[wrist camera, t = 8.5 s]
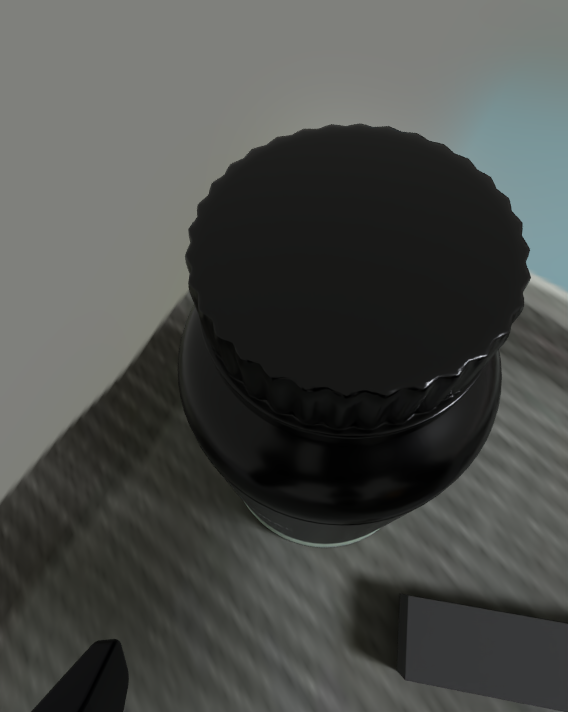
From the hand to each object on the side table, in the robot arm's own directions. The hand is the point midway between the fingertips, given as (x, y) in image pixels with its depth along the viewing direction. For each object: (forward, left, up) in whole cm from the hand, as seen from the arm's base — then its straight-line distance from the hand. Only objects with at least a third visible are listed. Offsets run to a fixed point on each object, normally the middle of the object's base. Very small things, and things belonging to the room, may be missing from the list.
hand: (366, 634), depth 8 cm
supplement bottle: (+3, +4, -7) cm, 9 cm away
